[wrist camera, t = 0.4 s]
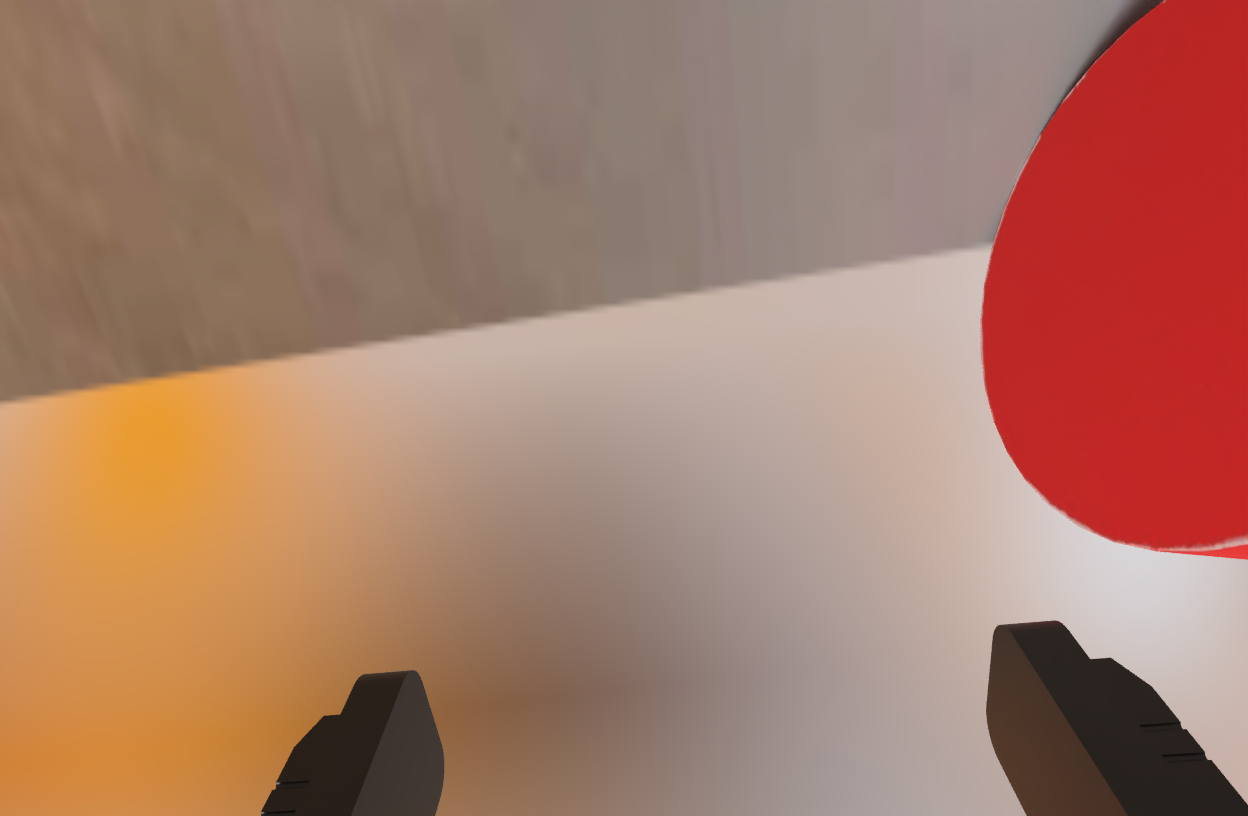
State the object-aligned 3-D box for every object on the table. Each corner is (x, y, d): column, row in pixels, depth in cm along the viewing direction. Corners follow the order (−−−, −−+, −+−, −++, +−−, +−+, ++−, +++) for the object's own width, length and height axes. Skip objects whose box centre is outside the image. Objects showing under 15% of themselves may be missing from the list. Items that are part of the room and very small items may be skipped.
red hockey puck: (1028, 371, 41) (1339, 695, 25) (930, 358, 40) (1186, 686, 24) (1270, -51, 30) (2113, 31, 14) (1143, -83, 29) (1887, -36, 13)
